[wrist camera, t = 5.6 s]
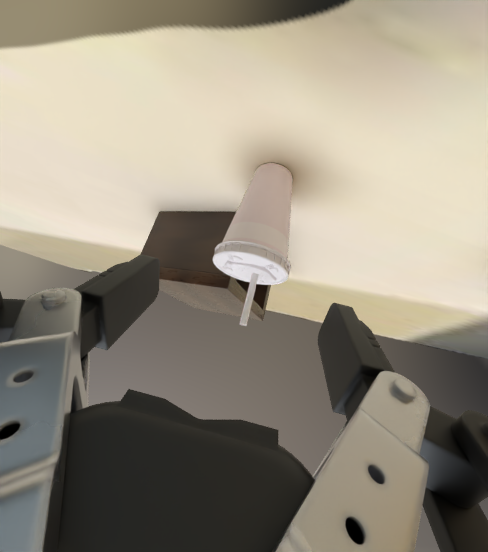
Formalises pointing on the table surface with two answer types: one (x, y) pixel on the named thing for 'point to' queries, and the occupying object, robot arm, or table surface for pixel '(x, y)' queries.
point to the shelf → (199, 263)
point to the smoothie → (259, 233)
